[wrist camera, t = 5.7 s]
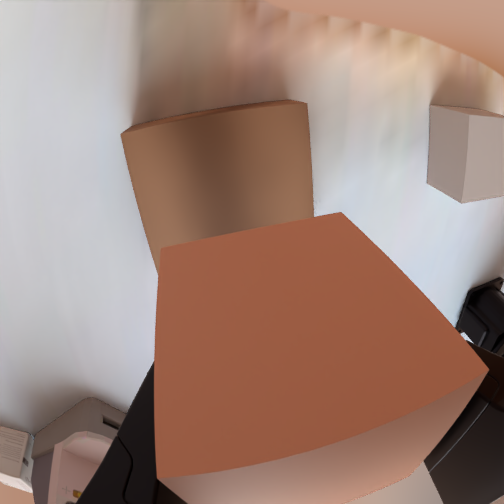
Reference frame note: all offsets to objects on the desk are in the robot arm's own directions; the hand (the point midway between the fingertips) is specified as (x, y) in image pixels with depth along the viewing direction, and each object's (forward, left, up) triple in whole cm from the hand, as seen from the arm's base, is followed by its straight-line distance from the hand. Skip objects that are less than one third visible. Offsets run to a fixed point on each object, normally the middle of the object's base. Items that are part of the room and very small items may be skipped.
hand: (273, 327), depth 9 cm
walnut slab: (0, 0, -12) cm, 12 cm away
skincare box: (+34, +27, -12) cm, 45 cm away
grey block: (-18, -1, -12) cm, 21 cm away
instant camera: (+19, +29, -12) cm, 37 cm away
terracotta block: (0, 0, -1) cm, 1 cm away
